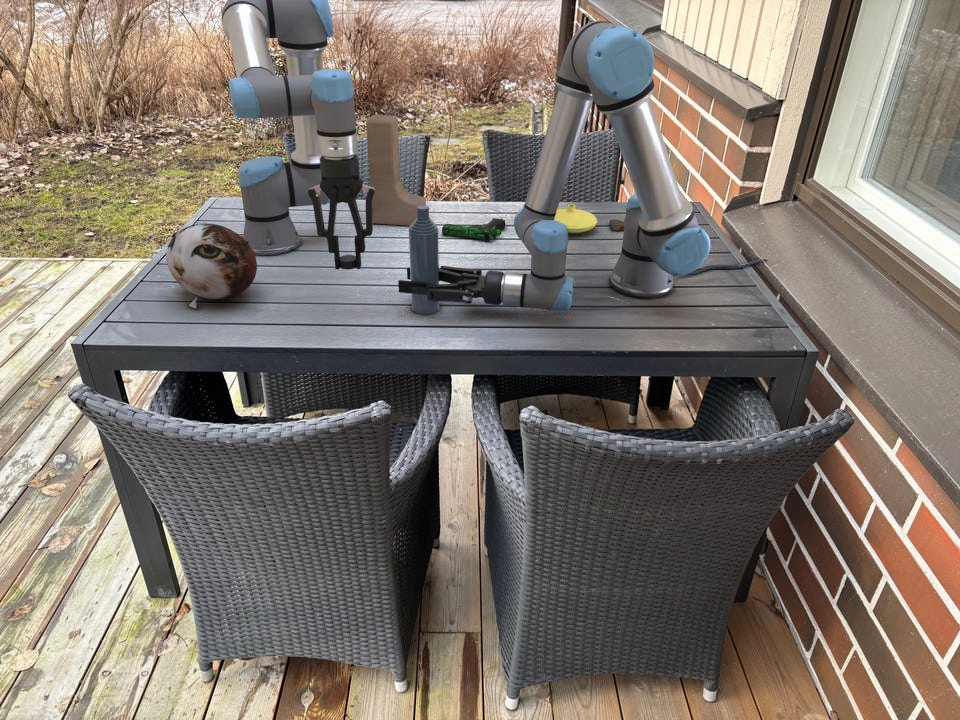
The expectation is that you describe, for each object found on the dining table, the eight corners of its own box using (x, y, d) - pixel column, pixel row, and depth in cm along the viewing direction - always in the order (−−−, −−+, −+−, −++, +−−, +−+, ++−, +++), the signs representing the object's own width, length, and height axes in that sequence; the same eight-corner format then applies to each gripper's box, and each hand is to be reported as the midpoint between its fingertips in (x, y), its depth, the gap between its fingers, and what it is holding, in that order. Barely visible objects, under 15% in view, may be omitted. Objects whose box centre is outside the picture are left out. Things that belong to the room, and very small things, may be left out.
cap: (361, 265, 152) (360, 257, 151) (347, 271, 149) (346, 263, 148) (349, 261, 154) (348, 253, 153) (335, 266, 151) (334, 258, 150)
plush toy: (130, 285, 161) (164, 203, 163) (192, 308, 177) (221, 233, 178) (195, 307, 151) (229, 220, 152) (254, 330, 166) (285, 250, 168)
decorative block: (421, 227, 210) (418, 122, 195) (372, 224, 212) (365, 119, 197) (426, 218, 217) (424, 116, 201) (378, 215, 218) (372, 114, 203)
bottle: (439, 313, 163) (437, 212, 151) (411, 314, 163) (407, 212, 150) (439, 301, 168) (437, 202, 156) (412, 301, 168) (408, 202, 156)
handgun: (511, 219, 210) (493, 234, 198) (511, 228, 211) (492, 244, 199) (461, 212, 215) (440, 226, 203) (461, 221, 217) (440, 236, 204)
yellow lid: (559, 216, 220) (561, 193, 217) (605, 227, 212) (608, 204, 209) (532, 230, 209) (533, 207, 206) (580, 242, 201) (582, 218, 198)
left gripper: (292, 160, 136) (305, 274, 148) (380, 160, 137) (387, 273, 149) (298, 150, 143) (311, 260, 154) (383, 150, 143) (389, 259, 155)
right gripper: (495, 323, 153) (392, 313, 157) (508, 285, 170) (414, 277, 173) (496, 291, 149) (390, 282, 153) (509, 256, 166) (413, 248, 169)
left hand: (348, 266), depth 151 cm, fingers closed on cap, 4 cm apart
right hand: (403, 279), depth 163 cm, fingers closed on bottle, 6 cm apart
